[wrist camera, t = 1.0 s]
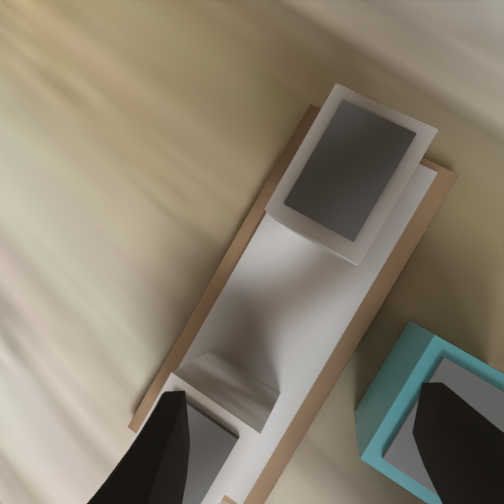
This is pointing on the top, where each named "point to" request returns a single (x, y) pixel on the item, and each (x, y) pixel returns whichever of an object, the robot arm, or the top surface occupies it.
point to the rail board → (298, 292)
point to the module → (406, 401)
